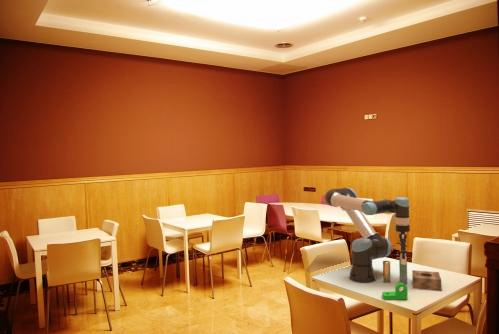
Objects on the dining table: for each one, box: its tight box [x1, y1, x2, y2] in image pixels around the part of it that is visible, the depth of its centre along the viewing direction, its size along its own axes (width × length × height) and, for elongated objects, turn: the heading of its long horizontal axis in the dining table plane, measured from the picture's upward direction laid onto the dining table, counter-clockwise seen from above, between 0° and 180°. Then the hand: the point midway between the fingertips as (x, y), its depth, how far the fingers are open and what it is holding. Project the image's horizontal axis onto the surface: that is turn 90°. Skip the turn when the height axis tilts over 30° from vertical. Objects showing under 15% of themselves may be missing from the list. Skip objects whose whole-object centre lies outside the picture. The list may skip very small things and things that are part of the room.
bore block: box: [411, 269, 442, 292], centre depth 216 cm, size 14×14×6 cm
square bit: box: [398, 256, 408, 286], centre depth 220 cm, size 4×4×15 cm
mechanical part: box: [381, 282, 409, 300], centre depth 200 cm, size 12×6×8 cm, turn 88°
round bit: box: [382, 260, 392, 284], centre depth 224 cm, size 4×4×12 cm
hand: (403, 261), depth 220 cm, fingers open, 13 cm apart
